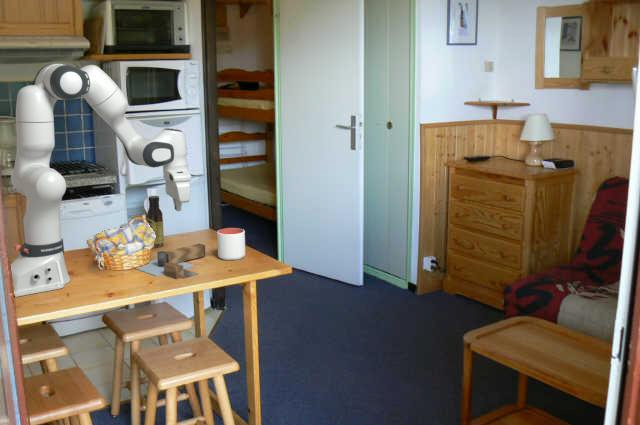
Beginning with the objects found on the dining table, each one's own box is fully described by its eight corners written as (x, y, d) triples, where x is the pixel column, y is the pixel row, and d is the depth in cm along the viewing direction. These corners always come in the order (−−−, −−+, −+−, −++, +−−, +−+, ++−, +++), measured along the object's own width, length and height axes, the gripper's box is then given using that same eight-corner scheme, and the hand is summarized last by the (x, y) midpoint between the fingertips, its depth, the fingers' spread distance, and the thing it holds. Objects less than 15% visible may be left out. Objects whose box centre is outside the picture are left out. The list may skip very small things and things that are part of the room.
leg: (161, 266, 246) (160, 254, 245) (155, 265, 248) (155, 252, 247) (205, 255, 260) (204, 243, 259) (199, 253, 262) (199, 242, 261)
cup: (247, 260, 256) (246, 233, 254) (219, 262, 254) (218, 235, 251) (243, 252, 265) (242, 227, 263) (216, 254, 263) (215, 228, 261)
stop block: (178, 279, 234) (177, 268, 233) (164, 274, 239) (163, 263, 238) (198, 274, 240) (197, 263, 239) (184, 269, 245) (183, 258, 244)
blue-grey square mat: (156, 276, 238) (156, 275, 237) (130, 267, 248) (130, 266, 248) (194, 266, 249) (194, 265, 249) (168, 257, 260) (168, 256, 260)
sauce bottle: (146, 245, 277) (143, 195, 273) (162, 243, 279) (159, 194, 275) (149, 249, 271) (146, 198, 267) (166, 247, 274) (163, 197, 269)
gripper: (160, 169, 262) (162, 206, 265) (174, 178, 244) (177, 216, 248) (176, 168, 265) (178, 204, 268) (192, 176, 247) (194, 214, 250)
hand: (178, 210), depth 258 cm, fingers closed
